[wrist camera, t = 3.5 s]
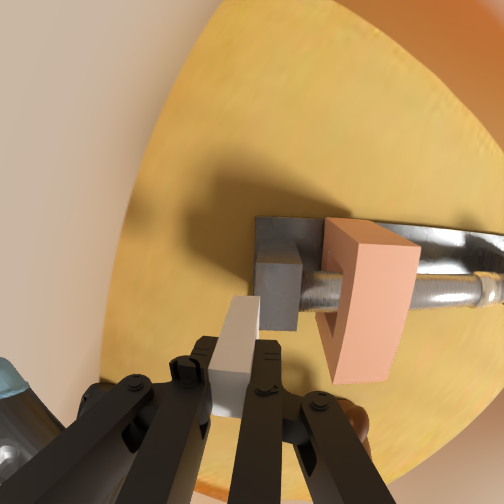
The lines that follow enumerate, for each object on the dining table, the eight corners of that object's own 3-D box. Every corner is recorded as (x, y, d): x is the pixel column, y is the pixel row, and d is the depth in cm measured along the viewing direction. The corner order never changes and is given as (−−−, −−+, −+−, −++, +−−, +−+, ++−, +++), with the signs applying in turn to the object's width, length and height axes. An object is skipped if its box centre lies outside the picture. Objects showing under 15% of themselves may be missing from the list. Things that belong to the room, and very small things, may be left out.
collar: (315, 317, 25) (332, 384, 16) (325, 217, 23) (358, 243, 13) (354, 317, 25) (385, 380, 16) (368, 219, 22) (421, 247, 13)
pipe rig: (253, 307, 27) (246, 353, 19) (256, 215, 24) (248, 232, 17) (492, 302, 24) (525, 327, 17) (507, 236, 22) (546, 252, 15)
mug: (319, 371, 28) (330, 433, 19) (377, 371, 28) (401, 427, 19) (298, 430, 32) (300, 484, 23) (348, 430, 31) (359, 480, 22)
